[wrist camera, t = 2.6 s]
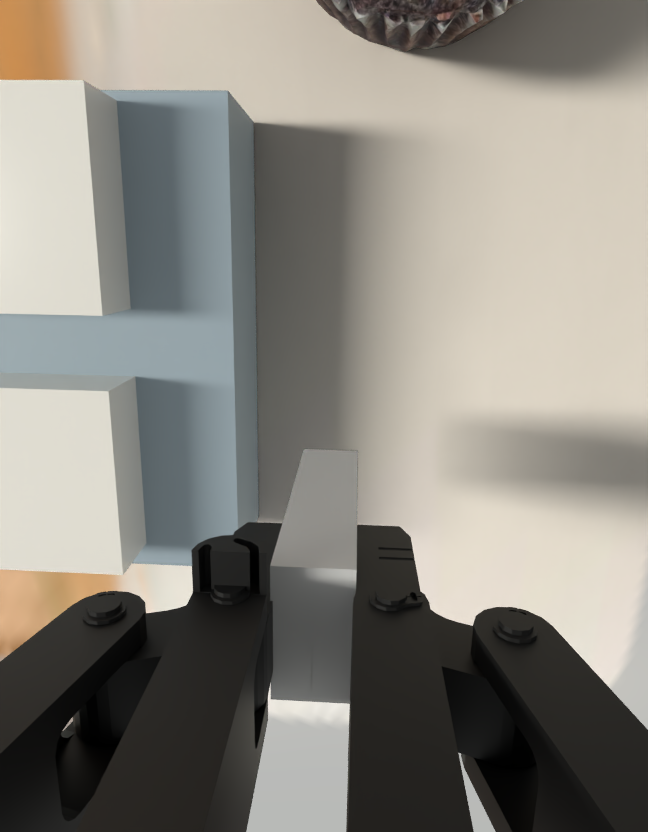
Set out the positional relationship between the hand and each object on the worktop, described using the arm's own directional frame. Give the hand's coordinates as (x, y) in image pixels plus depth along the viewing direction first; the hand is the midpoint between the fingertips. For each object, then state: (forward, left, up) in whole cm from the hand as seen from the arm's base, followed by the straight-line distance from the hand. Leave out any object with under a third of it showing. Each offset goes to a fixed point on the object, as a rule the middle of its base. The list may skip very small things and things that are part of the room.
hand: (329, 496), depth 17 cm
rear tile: (0, -10, -2) cm, 10 cm away
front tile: (-8, -10, -2) cm, 13 cm away
